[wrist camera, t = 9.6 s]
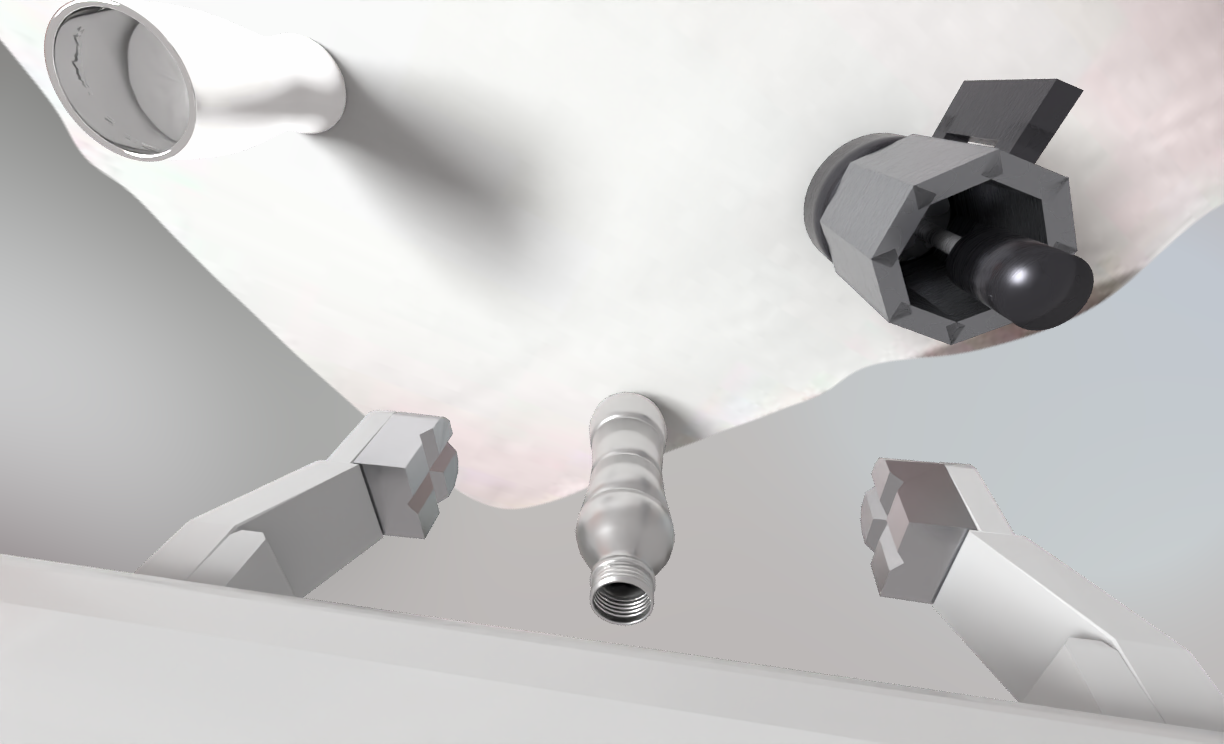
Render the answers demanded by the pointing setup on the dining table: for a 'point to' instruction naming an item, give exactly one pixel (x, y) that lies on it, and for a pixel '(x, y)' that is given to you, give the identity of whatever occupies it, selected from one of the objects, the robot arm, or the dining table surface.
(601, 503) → the plastic bottle
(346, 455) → the robot arm
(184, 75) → the beer glass
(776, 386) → the dining table surface
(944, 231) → the plunger
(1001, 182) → the press carafe
